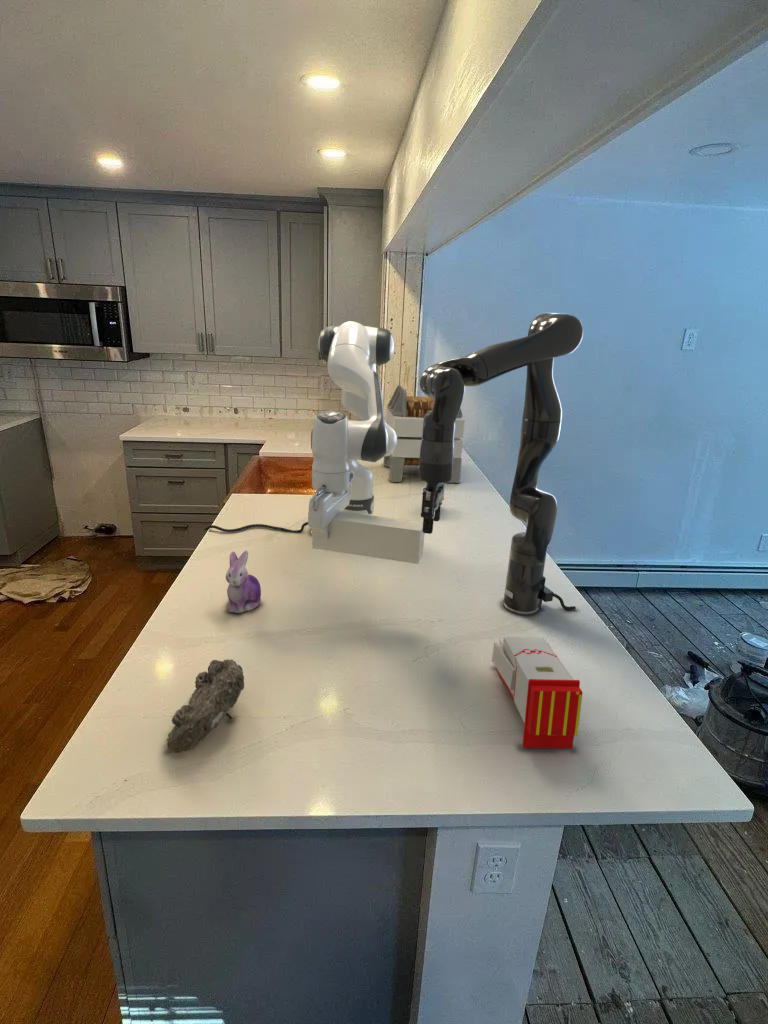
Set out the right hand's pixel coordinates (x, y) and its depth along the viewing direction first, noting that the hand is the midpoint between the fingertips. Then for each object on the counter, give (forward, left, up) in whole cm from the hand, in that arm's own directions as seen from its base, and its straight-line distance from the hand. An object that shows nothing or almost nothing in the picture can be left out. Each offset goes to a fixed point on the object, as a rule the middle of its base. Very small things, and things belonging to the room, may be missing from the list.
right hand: (431, 526), depth 131 cm
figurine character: (-38, -79, -28) cm, 92 cm away
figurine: (+41, -24, -28) cm, 55 cm away
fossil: (+52, +18, -28) cm, 61 cm away
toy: (-10, +31, -28) cm, 43 cm away
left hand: (+20, -15, -6) cm, 26 cm away
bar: (+12, -10, -9) cm, 18 cm away
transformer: (-56, -131, -28) cm, 145 cm away
